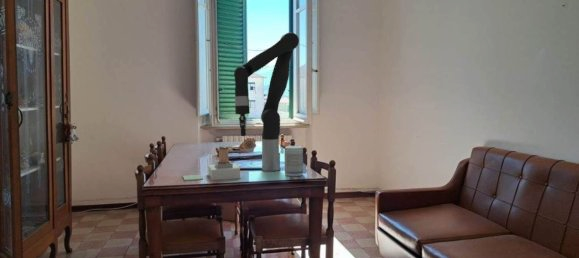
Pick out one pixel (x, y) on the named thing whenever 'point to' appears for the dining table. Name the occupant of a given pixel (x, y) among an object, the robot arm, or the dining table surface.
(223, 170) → the parts tub
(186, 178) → the sage mat
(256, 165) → the dining table surface
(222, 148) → the tan brown block
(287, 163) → the supplement tub
